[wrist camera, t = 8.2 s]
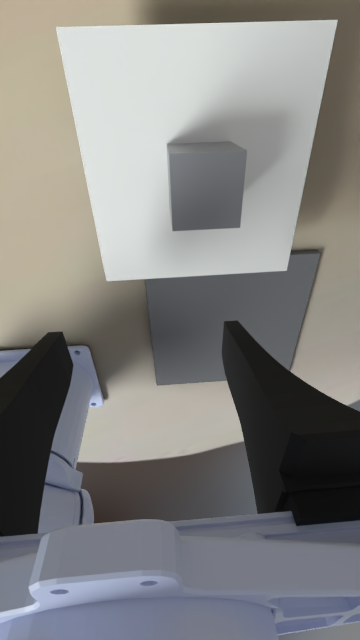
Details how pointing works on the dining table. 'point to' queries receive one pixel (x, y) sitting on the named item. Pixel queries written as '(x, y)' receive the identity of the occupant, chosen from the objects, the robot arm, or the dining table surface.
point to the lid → (196, 140)
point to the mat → (225, 317)
